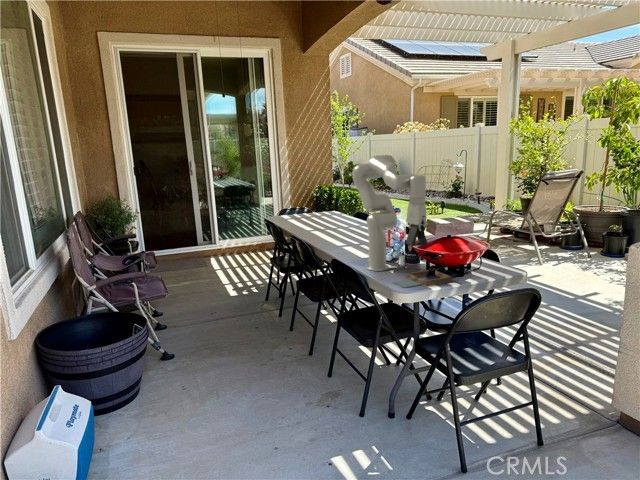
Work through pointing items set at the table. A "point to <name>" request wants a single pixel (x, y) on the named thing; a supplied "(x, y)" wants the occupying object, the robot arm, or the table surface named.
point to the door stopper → (413, 235)
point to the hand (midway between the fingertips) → (416, 236)
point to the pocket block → (441, 280)
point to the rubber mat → (406, 283)
